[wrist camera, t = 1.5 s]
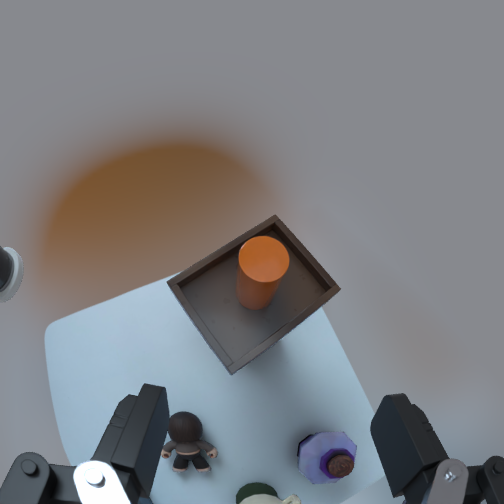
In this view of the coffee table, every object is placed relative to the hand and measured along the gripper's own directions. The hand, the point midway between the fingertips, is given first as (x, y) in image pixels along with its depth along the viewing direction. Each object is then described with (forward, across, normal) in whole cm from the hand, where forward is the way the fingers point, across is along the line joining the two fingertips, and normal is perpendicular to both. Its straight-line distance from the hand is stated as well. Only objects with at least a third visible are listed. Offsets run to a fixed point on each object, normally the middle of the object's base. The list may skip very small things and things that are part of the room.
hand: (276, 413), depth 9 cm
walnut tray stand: (+32, +1, +16) cm, 36 cm away
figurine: (+19, +8, +30) cm, 36 cm away
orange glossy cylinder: (+20, 0, +4) cm, 21 cm away
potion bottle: (+19, -11, +31) cm, 38 cm away
